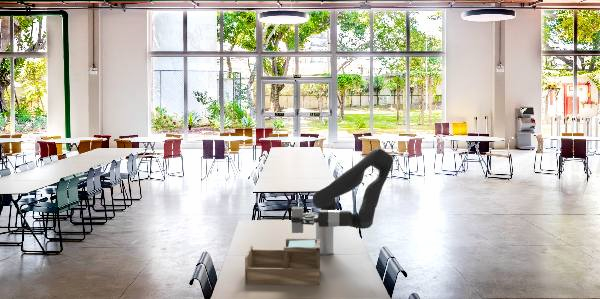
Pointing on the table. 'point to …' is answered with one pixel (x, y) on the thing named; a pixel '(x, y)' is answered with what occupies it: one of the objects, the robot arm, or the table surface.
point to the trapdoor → (302, 243)
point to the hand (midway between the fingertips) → (291, 218)
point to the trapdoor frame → (283, 265)
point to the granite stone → (297, 213)
